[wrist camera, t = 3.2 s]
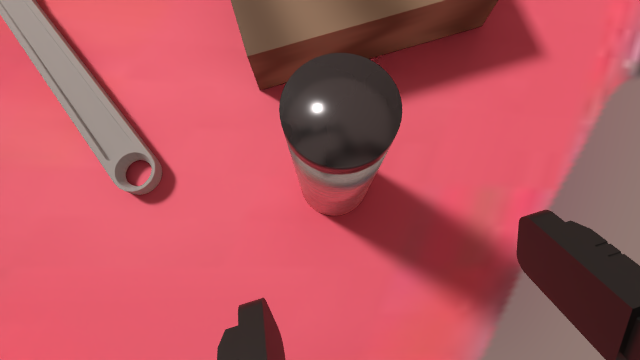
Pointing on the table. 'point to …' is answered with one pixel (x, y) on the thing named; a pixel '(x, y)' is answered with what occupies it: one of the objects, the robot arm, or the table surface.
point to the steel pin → (339, 127)
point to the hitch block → (344, 29)
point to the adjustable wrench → (80, 95)
